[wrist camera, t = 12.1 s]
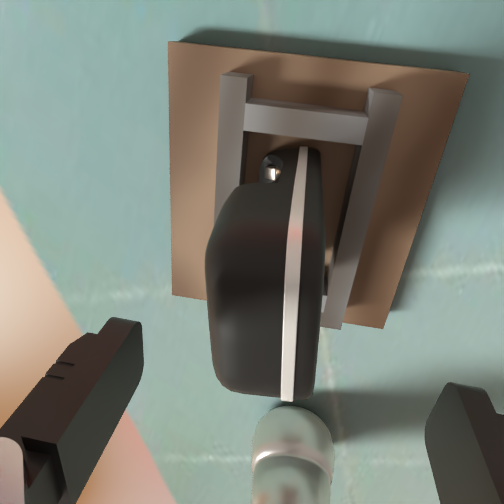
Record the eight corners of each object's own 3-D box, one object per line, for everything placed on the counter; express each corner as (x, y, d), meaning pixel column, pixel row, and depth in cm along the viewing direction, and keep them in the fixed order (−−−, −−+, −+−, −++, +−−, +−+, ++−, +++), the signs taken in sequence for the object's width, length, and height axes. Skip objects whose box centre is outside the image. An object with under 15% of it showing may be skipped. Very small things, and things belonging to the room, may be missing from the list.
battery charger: (247, 140, 20) (183, 239, 10) (321, 141, 20) (328, 247, 10) (250, 256, 23) (202, 415, 14) (312, 260, 23) (311, 428, 13)
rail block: (458, 71, 19) (486, 78, 16) (379, 314, 26) (388, 350, 23) (177, 41, 20) (152, 41, 17) (178, 282, 27) (161, 313, 24)
